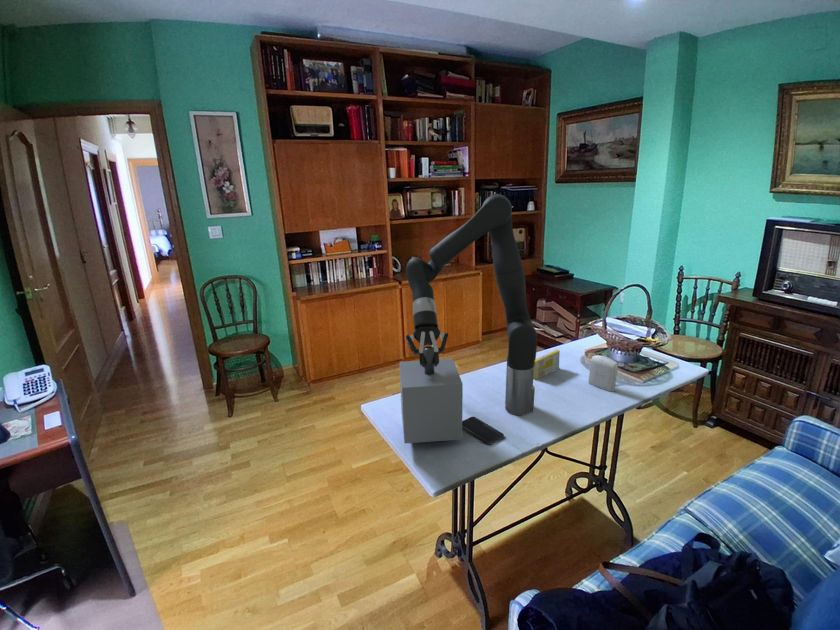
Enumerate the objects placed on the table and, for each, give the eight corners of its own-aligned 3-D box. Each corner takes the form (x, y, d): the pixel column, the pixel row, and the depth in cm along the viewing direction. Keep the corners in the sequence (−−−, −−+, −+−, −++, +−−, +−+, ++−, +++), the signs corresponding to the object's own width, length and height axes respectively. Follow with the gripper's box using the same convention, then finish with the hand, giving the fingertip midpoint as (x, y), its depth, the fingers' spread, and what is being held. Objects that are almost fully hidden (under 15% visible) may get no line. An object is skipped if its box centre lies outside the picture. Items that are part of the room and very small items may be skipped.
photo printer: (617, 389, 168) (620, 359, 164) (611, 392, 165) (614, 363, 161) (592, 380, 175) (595, 351, 171) (586, 383, 173) (589, 354, 169)
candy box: (555, 367, 188) (556, 349, 185) (559, 368, 186) (560, 350, 183) (531, 378, 178) (532, 360, 176) (535, 380, 177) (536, 361, 174)
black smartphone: (488, 444, 135) (456, 423, 147) (488, 447, 136) (456, 426, 147) (505, 435, 140) (473, 415, 151) (505, 438, 140) (473, 418, 151)
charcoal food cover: (452, 408, 149) (452, 336, 140) (462, 439, 132) (462, 358, 124) (401, 412, 148) (398, 339, 139) (404, 443, 131) (400, 362, 123)
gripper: (402, 310, 135) (406, 363, 127) (447, 308, 136) (454, 360, 128) (402, 321, 141) (406, 371, 134) (445, 318, 143) (451, 368, 135)
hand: (429, 365), depth 131 cm, fingers closed on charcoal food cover, 3 cm apart
